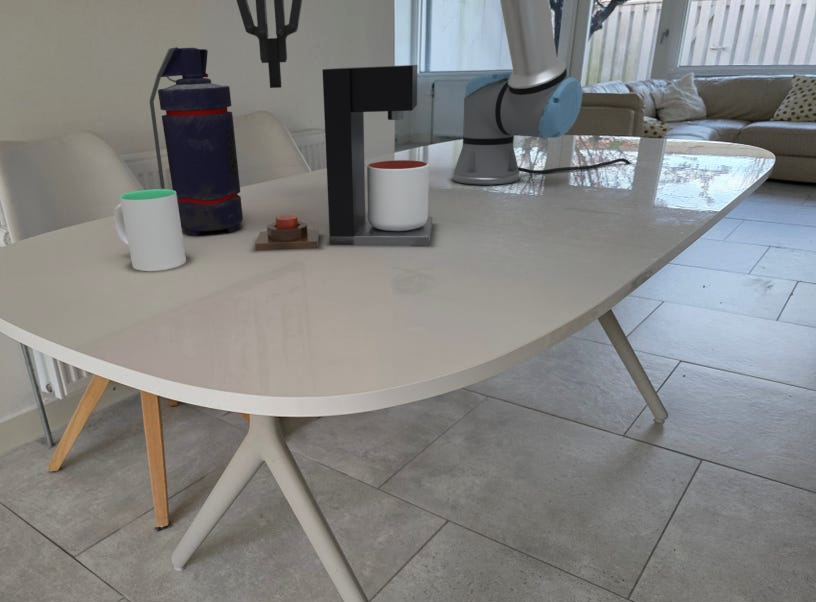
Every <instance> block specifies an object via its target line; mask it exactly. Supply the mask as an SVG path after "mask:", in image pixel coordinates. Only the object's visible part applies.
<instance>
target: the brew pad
mask: <svg viewBox="0 0 816 602" xmlns="http://www.w3.org/2000/svg"><path fill="white" fill-rule="evenodd" d="M319 238H320V230H319V228H318V229H317V228H316V229H308V223H307V222H304V221H300V220H298V227H294V228H284V229H282V228H276V221H275V222H272V223H269V224H268V225H267V227H266V230H264V231H262V230H261V231H260V232H259V235H258V237H257V238H256V240H255V243H254V246H255V247H254V248H255V251H256V252H259V251H282V250H283V251H285V250H286V251H287V250H309V249H310V250H311V249H312V250H313V249H314V250H315V249H318V248H319V240H320V239H319Z"/></svg>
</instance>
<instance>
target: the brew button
mask: <svg viewBox="0 0 816 602" xmlns="http://www.w3.org/2000/svg"><path fill="white" fill-rule="evenodd" d="M298 218H299V217H298V216H297V215H295V214H283V215H278V216H276V217H275V222H276V228H282V229H284V228H294V227H298V221H299V220H298Z"/></svg>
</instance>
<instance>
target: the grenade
mask: <svg viewBox="0 0 816 602" xmlns="http://www.w3.org/2000/svg"><path fill="white" fill-rule="evenodd" d="M208 53H209V50H208V49H207V48H206V49H205V48H197V47H181V48H179V47H178V46H176V47H171V48H168V49H167V52H166V54H165V56H164V58H163V60H162V63H161V65H160V67H159V69H158V71H157V74H156V76H155V77H156V78H155V80H154V82H153V83H154V84H153V87H152V91H151V94H150V98H149V108H150V115H151V124H152V131H153V138H154V147H155V153H156V161H157V169H158V175H159V183H160V184H159V185H160V187H161V188H160V189H165V188H166V186H165V181H164V180H165V179H164V171H163V164H162V155H161V148H160V141H159V133H158V126H157V124H158V123H157V118H156V110H155V102H154V101H155V99H156V95H157V94H158V101H159V107H160V111H165V112H166V113H165V114H163V115H161V122H162V128H163V135H164V142H165V149H166V154H167V163H168V167H169V168H168V169H169V175H170V181H171V188H172V189H171V190H174V191H176V195H177V202H178V208H179V215H180V222H181V229H184V230H185V231H186V234H187V235H188V236H192V237H199V236H200V235H201V232H213V231H214V232H215V231H220V230H221V231H222V230H227V232H228V233H234V232H236V231H238V230H239V229H240V228H239V227H240V226H239V224H241V223H242V222H243V221H244V216H243V207H242V196H241V195H239V194H240V193H241V184H240V175H239V164H238V155H237V146H236V145H237V144H236V138H235V137H236V136H235V126H234V116H233V112H232V111H228V108H230V107H232V98H231V88H230V86H229V85H220V84H217V83H213V82H212V79H210V78H208V77H209V74H208V73H207V67H208V66H207V64H208ZM179 76H181V78H178V79H172V78H171V77H179ZM162 78H166V79H167V80H169V82H170V81H171V82H172V83H175V84H173V85H170V86H167V87H165V88H160V89H159V85H160V83H161V82H160V81H161V79H162Z"/></svg>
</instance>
